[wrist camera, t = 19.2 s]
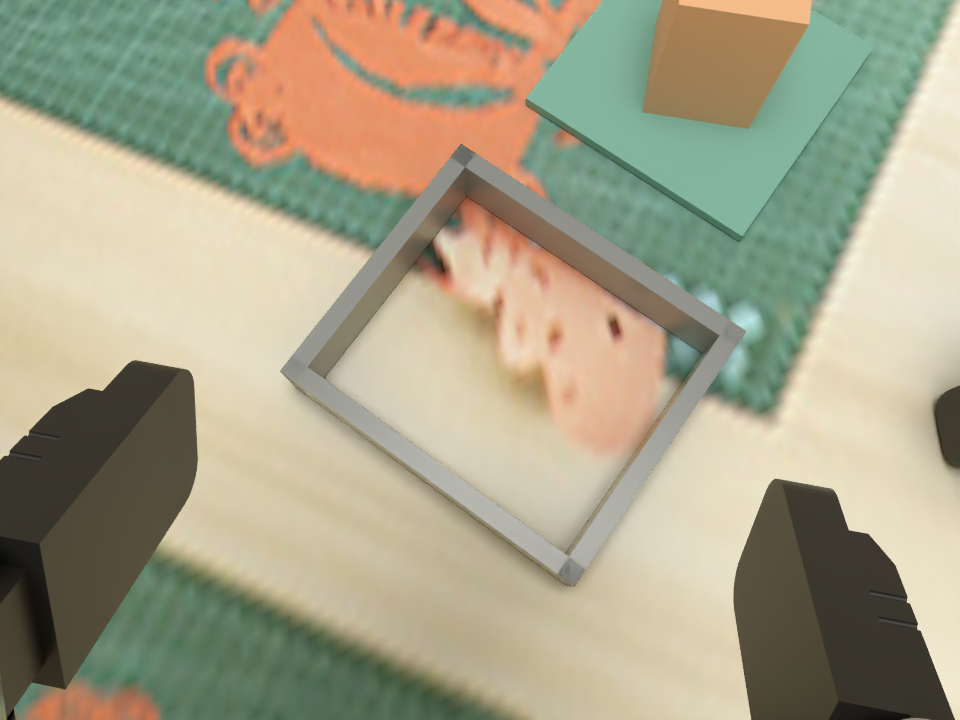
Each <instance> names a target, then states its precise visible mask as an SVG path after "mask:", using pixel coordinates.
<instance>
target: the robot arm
mask: <svg viewBox="0 0 960 720" xmlns="http://www.w3.org/2000/svg"><path fill="white" fill-rule="evenodd" d="M197 461H198V456H197V435H196V415H195V395H194V381H193V377H192V374H191V373H190V371H188V370H186V369H180V368H175V367H169V366H164V365H158V364H153V363H147V362H142V361H136V360H135V361H132V362H130V363H129V364H127V365H126V366H125V367H124V369H123V370H122V371H121V372H120V373H119V374H118V375H117V376H116V377H115V378H114V379H113V380H112V382H111V383H110V384H109V385H108V386H107V387H106V388H105V389H104V390H103V391H99V390H94V389H86V390H84V391H83V392H81V393H79V394H77V395H75V396H73V397H71V398H69V399H67V400H65V401H63V402H61V403H59V404H57V405H55V406H53V407H52V408H51V409H50V410H49V411H48V412H47V413H46V414H45V415H44V416H43V417H42V418H41V419H40V420H39V421H38V422H37V423H36V425H35V426H34V427H33V428H32V429H31V430H30V431H29V435H28V436H24V437H23V438H22V439H21V440H20V441H19V442H18V443H17V444H16V445H15V446H14V447H13V448H12V449H11V450H10V454H9V456H4V457H3V458H2V459H1V460H0V720H18V718H17V713H16V709H15V706H16V704H17V703H18V701H19V700H20V698H21V697H22V695H23V694H24V693H25V691H26V690H27V688H28V687H29V685H30V684H31V682H32V683H37V684H42V685H47V686H52V687H57V688H62V689H66V688H67V686H68V685H69V683H70V682H71V680H72V678H73V677H74V675H75V674H76V672H77V671H78V669H79V668H80V666H81V664H82V663H83V661H84V660H85V658H86V657H87V655H88V654H89V652H90V651H91V649H92V647H93V646H94V644H95V643H96V641H97V640H98V638H99V637H100V635H101V633H102V632H103V630H104V629H105V627H106V626H107V624H108V623H109V621H110V619H111V618H112V616H113V615H114V613H115V612H116V610H117V609H118V607H119V605H120V604H121V602H122V601H123V599H124V598H125V596H126V595H127V593H128V592H129V590H130V588H131V587H132V585H133V584H134V582H135V581H136V579H137V578H138V576H139V574H140V573H141V571H142V570H143V568H144V567H145V565H146V564H147V562H148V560H149V559H150V557H151V556H152V554H153V553H154V551H155V550H156V548H157V546H158V545H159V543H160V542H161V540H162V539H163V537H164V536H165V534H166V533H167V531H168V529H169V528H170V526H171V525H172V523H173V522H174V520H175V519H176V517H177V515H178V514H179V512H180V511H181V509H182V508H183V506H184V505H185V503H186V501H187V499H188V497H189V495H190V493H191V490H192V487H193V484H194V480H195V476H196V471H197ZM734 611H735V617H736V624H737V630H738V637H739V643H740V650H741V656H742V662H743V669H744V675H745V682H746V688H747V695H748V701H749V707H750V714H751V720H955V719H954V716H953V714H952V711H951V708H950V706H949V703H948V701H947V698H946V695H945V693H944V690H943V688H942V685H941V682H940V680H939V677H938V675H937V672H936V670H935V667H934V664H933V662H932V659H931V657H930V654H929V651H928V649H927V646H926V644H925V641H924V638H923V636H922V633H921V631H919V630H917V625H918V623H917V620H916V618H915V615H914V613H913V610H912V607H911V605H910V604H909V603H907V594H906V592H905V589H904V587H903V584H902V581H901V579H900V576H899V574H898V571H897V569H896V566H895V564H894V563H893V562H892V561H891V560H890V558H889V557H888V556H887V555H886V554H885V553H884V552H883V550H882V549H881V548H880V547H879V546H878V545H877V543H876V542H875V541H874V540H873V539H872V538H871V536H870V535H869V534H866V533H860V532H855V531H849V530H848V527H847V524H846V521H845V518H844V515H843V512H842V509H841V506H840V503H839V500H838V497H837V495H836V493H835V492H834V490H832V489H830V488H824V487H819V486H813V485H808V484H802V483H797V482H791V481H786V480H780V479H774V480H773V481H772V482H771V483H770V484H769V486H768V488H767V490H766V493H765V495H764V498H763V500H762V503H761V506H760V508H759V511H758V513H757V516H756V519H755V521H754V524H753V526H752V529H751V532H750V534H749V537H748V539H747V542H746V545H745V547H744V550H743V552H742V555H741V558H740V560H739V563H738V567H737V571H736V576H735V583H734Z"/></svg>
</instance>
